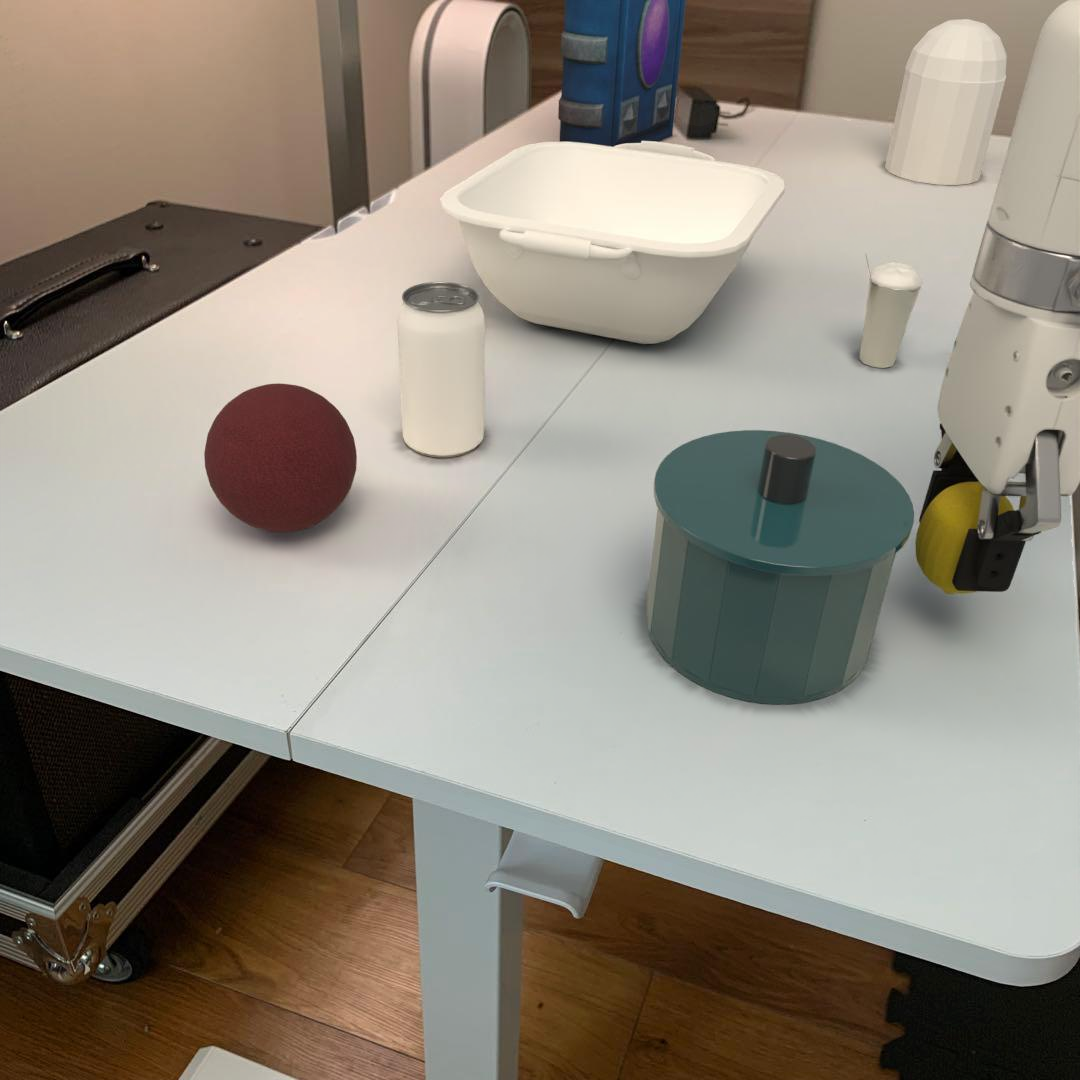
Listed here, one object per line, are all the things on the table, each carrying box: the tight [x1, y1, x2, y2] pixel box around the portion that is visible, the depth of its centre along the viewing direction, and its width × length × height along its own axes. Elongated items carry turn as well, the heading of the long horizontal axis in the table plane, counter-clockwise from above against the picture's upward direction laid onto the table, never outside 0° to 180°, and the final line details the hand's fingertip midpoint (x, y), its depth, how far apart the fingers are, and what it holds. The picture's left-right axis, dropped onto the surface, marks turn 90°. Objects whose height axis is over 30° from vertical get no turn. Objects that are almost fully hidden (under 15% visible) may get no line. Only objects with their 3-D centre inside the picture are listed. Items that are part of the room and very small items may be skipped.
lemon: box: [914, 481, 1015, 595], centre depth 64 cm, size 6×6×8 cm
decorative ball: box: [203, 383, 358, 533], centre depth 72 cm, size 10×10×10 cm
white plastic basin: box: [438, 141, 786, 345], centre depth 104 cm, size 34×28×13 cm
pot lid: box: [652, 429, 915, 576], centre depth 60 cm, size 15×15×4 cm
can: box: [396, 281, 485, 459], centre depth 82 cm, size 6×6×12 cm
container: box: [884, 18, 1008, 186], centre depth 148 cm, size 13×13×20 cm
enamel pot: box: [646, 508, 897, 705], centre depth 64 cm, size 14×14×10 cm
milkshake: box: [858, 253, 923, 369], centre depth 97 cm, size 4×5×10 cm
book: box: [557, 0, 686, 147], centre depth 150 cm, size 24×9×30 cm, turn 147°
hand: (961, 554), depth 65 cm, fingers closed on lemon, 5 cm apart
